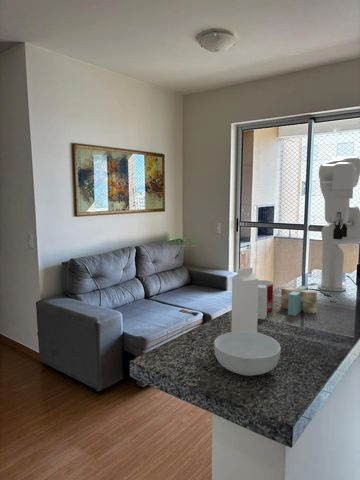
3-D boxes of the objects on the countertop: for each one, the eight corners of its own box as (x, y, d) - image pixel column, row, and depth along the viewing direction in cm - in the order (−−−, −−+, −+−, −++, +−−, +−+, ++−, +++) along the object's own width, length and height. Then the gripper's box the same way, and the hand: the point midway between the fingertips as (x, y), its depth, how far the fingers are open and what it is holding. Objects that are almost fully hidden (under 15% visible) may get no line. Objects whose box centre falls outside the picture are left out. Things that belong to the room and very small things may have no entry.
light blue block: (299, 304, 148) (300, 285, 147) (307, 305, 147) (307, 286, 146) (287, 314, 135) (288, 294, 134) (295, 316, 134) (296, 295, 133)
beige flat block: (280, 307, 144) (281, 288, 143) (283, 306, 146) (283, 287, 145) (314, 313, 136) (314, 293, 135) (316, 311, 139) (316, 291, 138)
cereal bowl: (202, 373, 90) (202, 346, 90) (230, 349, 104) (230, 326, 103) (266, 393, 81) (267, 363, 80) (288, 364, 95) (289, 339, 94)
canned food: (270, 306, 146) (271, 280, 144) (273, 312, 138) (274, 285, 136) (251, 306, 146) (252, 280, 145) (253, 312, 138) (254, 284, 137)
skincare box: (267, 316, 133) (267, 285, 132) (264, 320, 129) (265, 288, 128) (251, 314, 136) (251, 283, 134) (248, 317, 132) (248, 286, 131)
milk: (257, 336, 114) (259, 269, 112) (242, 340, 111) (244, 271, 109) (245, 330, 120) (246, 266, 117) (230, 333, 117) (232, 267, 114)
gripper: (336, 195, 149) (334, 235, 151) (327, 194, 135) (325, 239, 137) (356, 194, 145) (353, 236, 147) (348, 194, 130) (346, 240, 132)
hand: (340, 238), depth 142 cm, fingers open, 9 cm apart
